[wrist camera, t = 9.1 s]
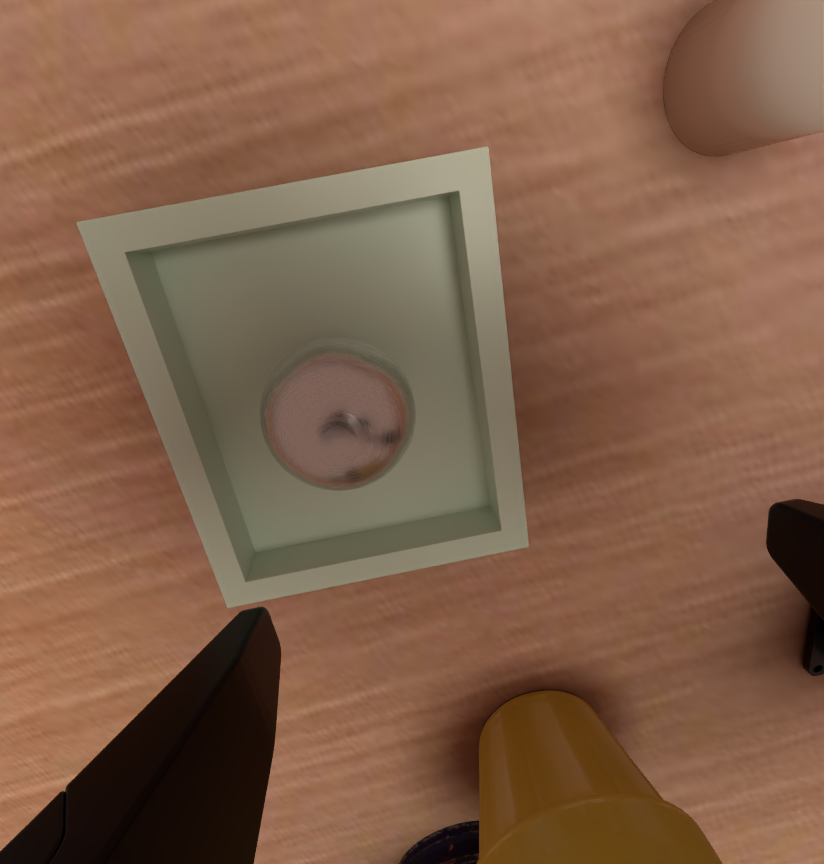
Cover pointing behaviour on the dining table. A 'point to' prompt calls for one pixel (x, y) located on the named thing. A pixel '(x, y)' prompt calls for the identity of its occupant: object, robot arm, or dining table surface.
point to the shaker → (747, 75)
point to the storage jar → (447, 846)
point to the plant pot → (572, 793)
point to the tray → (313, 319)
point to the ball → (337, 413)
